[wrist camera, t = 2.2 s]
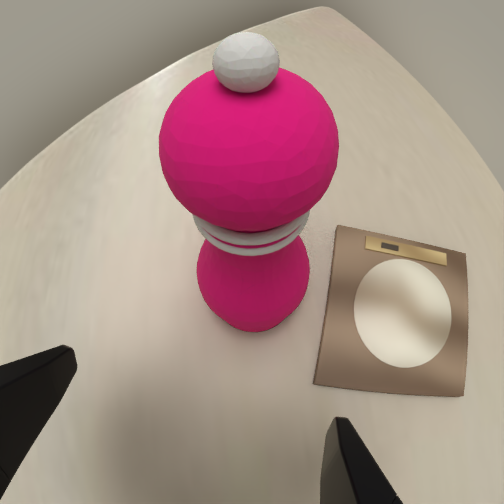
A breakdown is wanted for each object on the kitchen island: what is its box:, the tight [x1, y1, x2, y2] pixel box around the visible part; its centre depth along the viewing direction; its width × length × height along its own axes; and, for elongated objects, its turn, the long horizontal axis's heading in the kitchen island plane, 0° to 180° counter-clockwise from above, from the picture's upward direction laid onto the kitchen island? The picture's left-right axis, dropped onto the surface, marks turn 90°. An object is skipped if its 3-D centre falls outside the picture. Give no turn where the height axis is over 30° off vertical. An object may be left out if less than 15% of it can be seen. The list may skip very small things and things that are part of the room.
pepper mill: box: [159, 32, 339, 332], centre depth 16 cm, size 7×7×20 cm
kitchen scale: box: [313, 225, 468, 397], centre depth 23 cm, size 13×13×1 cm
